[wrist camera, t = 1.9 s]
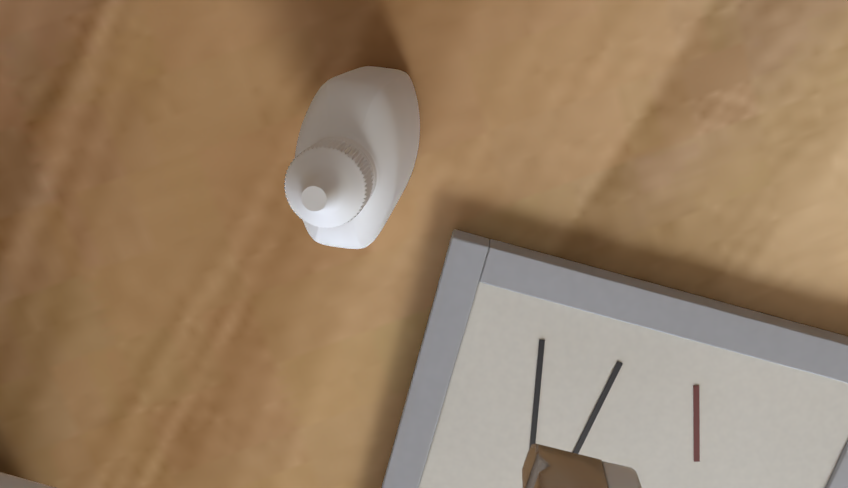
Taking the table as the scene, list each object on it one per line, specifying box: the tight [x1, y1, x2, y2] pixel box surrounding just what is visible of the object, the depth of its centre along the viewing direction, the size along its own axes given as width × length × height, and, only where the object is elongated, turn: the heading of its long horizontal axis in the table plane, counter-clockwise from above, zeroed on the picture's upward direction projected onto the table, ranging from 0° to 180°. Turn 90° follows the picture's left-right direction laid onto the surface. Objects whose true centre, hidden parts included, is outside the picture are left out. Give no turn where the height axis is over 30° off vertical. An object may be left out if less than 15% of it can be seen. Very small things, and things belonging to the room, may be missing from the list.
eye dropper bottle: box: [284, 66, 420, 249], centre depth 27 cm, size 4×6×12 cm
